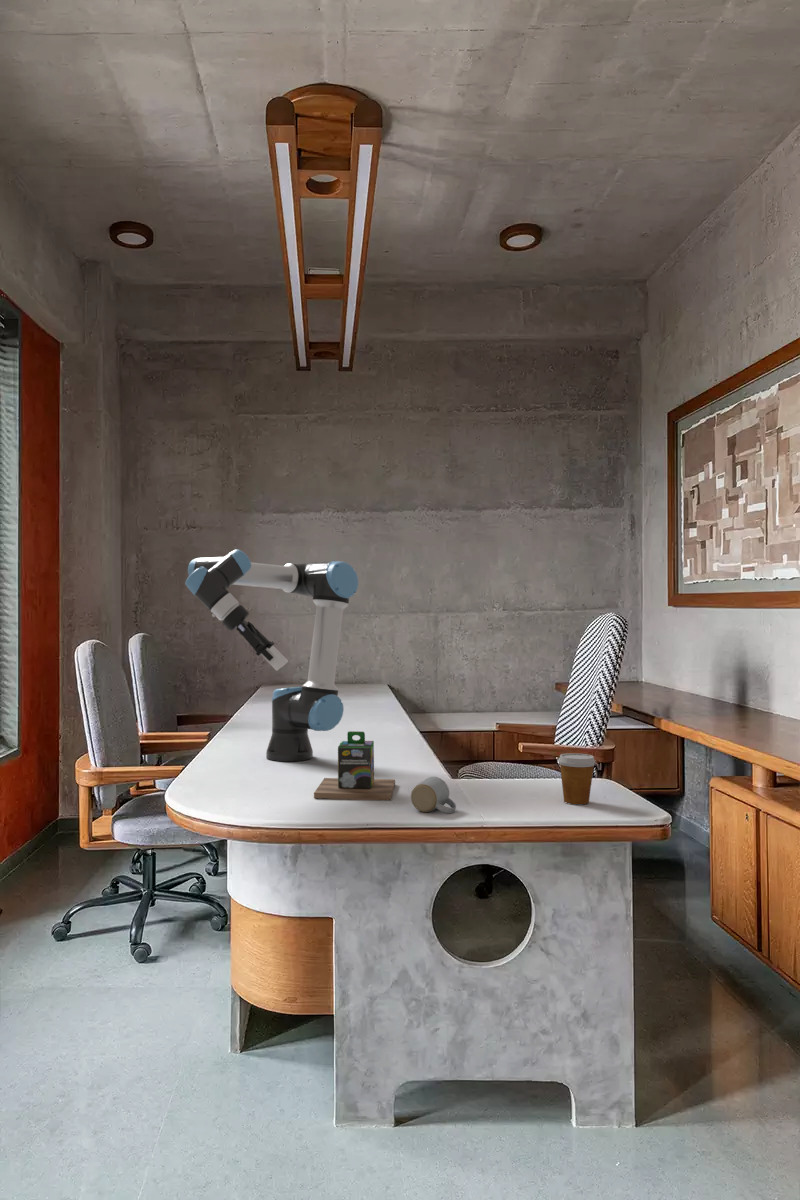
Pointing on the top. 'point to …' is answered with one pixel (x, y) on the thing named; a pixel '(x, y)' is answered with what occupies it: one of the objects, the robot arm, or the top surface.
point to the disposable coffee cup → (576, 777)
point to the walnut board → (355, 790)
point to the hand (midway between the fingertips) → (282, 666)
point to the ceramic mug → (432, 796)
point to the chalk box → (356, 762)
